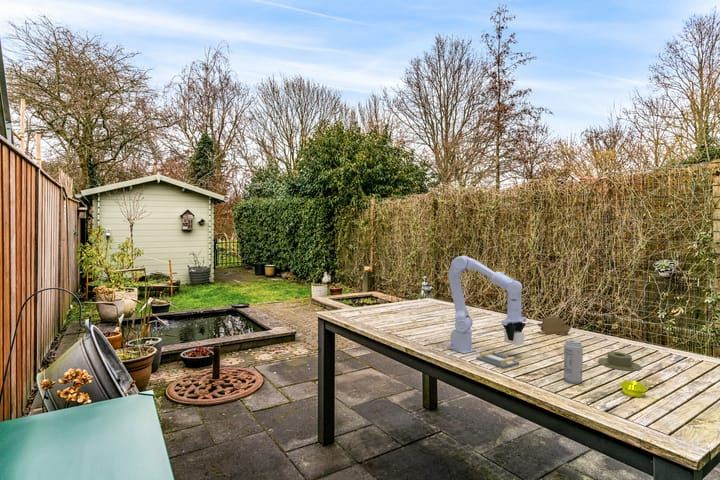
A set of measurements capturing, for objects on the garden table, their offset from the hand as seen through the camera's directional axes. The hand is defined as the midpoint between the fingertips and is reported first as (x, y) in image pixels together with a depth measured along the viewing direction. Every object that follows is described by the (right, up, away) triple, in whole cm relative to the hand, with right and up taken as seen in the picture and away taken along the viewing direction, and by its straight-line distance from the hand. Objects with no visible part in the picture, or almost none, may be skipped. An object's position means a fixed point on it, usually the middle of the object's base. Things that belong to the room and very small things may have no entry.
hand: (513, 339), depth 172 cm
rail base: (-9, -8, -6) cm, 14 cm away
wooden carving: (+37, -8, +40) cm, 55 cm away
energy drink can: (+11, -9, -27) cm, 31 cm away
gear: (+26, -9, -38) cm, 47 cm away
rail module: (0, -2, 0) cm, 2 cm away
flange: (+41, -9, -8) cm, 43 cm away
